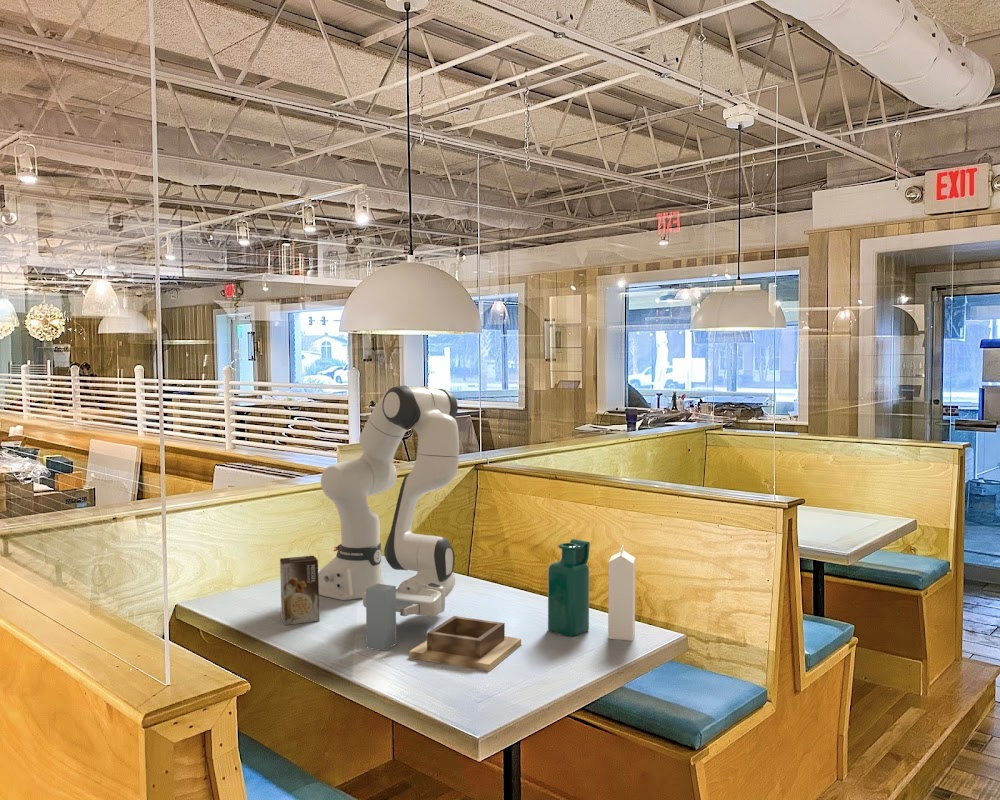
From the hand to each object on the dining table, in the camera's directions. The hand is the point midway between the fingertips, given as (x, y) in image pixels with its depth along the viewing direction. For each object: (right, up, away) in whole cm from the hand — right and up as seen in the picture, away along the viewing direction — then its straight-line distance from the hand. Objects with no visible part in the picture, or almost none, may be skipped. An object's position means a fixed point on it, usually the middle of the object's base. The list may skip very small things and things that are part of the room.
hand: (385, 610), depth 192 cm
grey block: (-1, -8, -1) cm, 8 cm away
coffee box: (-25, -8, +19) cm, 32 cm away
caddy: (+19, -8, -5) cm, 22 cm away
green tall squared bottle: (+45, -8, +10) cm, 47 cm away
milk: (+57, -8, +6) cm, 58 cm away
